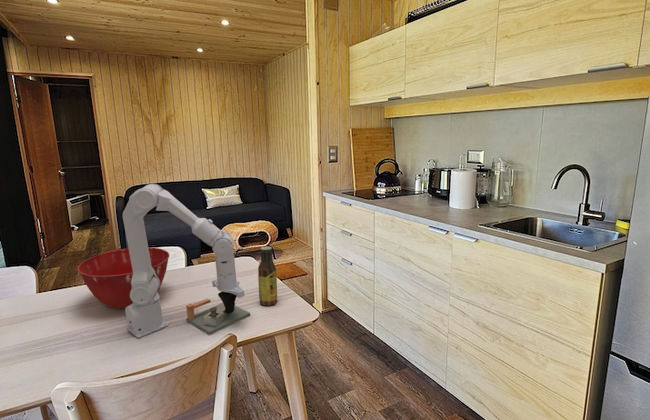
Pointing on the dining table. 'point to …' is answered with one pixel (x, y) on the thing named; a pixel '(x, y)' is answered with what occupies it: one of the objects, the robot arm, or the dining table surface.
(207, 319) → the latch
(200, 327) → the base
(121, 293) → the mixing bowl
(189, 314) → the bracket
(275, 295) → the sauce bottle
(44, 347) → the dining table surface
